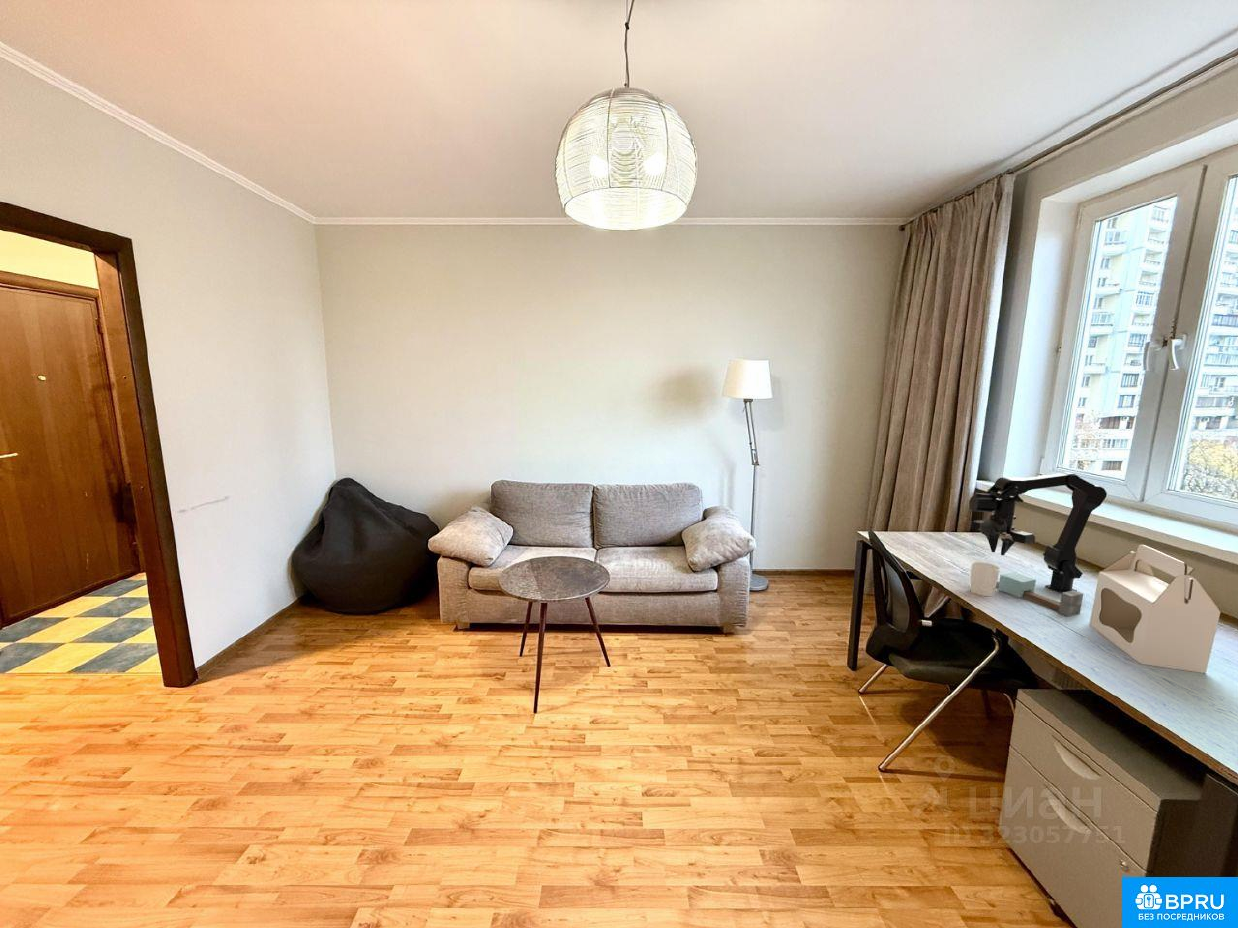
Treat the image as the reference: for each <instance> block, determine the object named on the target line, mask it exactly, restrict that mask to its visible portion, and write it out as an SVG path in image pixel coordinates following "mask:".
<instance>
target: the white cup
mask: <svg viewBox="0 0 1238 928" xmlns="http://www.w3.org/2000/svg"><path fill="white" fill-rule="evenodd" d="M1000 571H1001V569H1000V567H999V566H997V565H995V564H991V563H989V562H985V561H974V562H971V569H970V588H969V589H970V590H969V591H971V592H972V593H973V594H976V595H979V596H983V597H993V596H995V591H996V588H997V587H996V585H997V582H998V579H999V577H1000Z"/></svg>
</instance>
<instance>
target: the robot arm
mask: <svg viewBox="0 0 1238 928" xmlns="http://www.w3.org/2000/svg"><path fill="white" fill-rule="evenodd" d="M1063 486H1065V487H1066V488H1067V489H1069V490H1070V491H1072V492H1071V502H1072V508H1071V510H1070V512H1069V515H1068V517H1067V519H1066V521H1065V523H1064V526H1063V529H1062V531H1061V533H1060V535H1059V537H1058V540H1057V542H1056V543H1055V544H1054V545H1052V546H1051V545H1046V548H1045V551H1044V552H1043V554H1042V556H1043V561H1044V562H1045V564H1046V565H1047V568H1048V570H1051V571H1052V573H1051V578H1050V584H1045V585H1044V587H1045V588H1048V589H1050V590H1053V591H1055V592H1059V593H1061V594H1062V593H1063V592H1068V591H1073V590H1074V591H1077V592H1078V590H1077V589H1075V588H1073V584H1074V581H1075V580H1076V579H1081V577H1082V575H1083V571H1081V570H1080V569H1079V568H1078V567H1077V566H1076V564H1077V557H1078V556H1077V553H1076V548H1077V546H1078V543H1079V541H1080V539H1081V536H1082V535H1083V532H1084V529H1085V527H1086V525H1087V523H1088V521H1089V520H1090V519H1089V518H1090V516H1091V514H1092V513H1093V511H1095V510H1096V509H1097V508H1099V507H1101V505H1102V504H1103V502H1104V501H1105V499H1106V498H1107V494H1108V491H1106V489H1105V488H1104V487H1102V486H1099V485H1096V484H1095V485H1094V484H1093V483H1091V482H1090V481H1087V480H1086V479H1083V477H1080V476H1079V475H1077V474H1076V473H1072V472H1067V471H1063V472H1059V473H1051V474H1045V475H1038V476H1032V477H1031V476H1030V477H1013V476H1012V477H1011V476H1010V477H1009V476H1008V477H1007V476H1006V477H1002V476H1001V477H999V478H997V480H996V481H995V482H994V484H993V485H992V486H991V487H990V488H989V489H988V490H987V491H986V492H985V493H984V492H983V493H981V492H974V493H973V495H972V496H971V497H970V498H969V501H968V505H969V509H970V510H971V511H972V512H977V513H978V512H979V513H980V512H982V513H991V514H990V516H989V519H986V520H982V519H979V520H973V521H971V522H970V524H969V529H970V530H974V531H979V530H980V534H982V535H984V536H985V537H986V539H987V542H988V543H989V548H990V550H991V553H995V552H996V549H997V548H998V543H999V538H1000V534H1001V535H1003V536H1005V537H1001V538H1000V540H1001V542H1002V544H1001V550H1000V556H1005V555H1006V553H1007V552H1008V551H1009V550H1010V549H1011V547H1012V546H1013V545H1014V544H1015V543H1020V544H1031V543H1035V542H1036V536H1035V534H1034V533H1030V532H1026V531H1024V530H1021V531H1015V526H1013V525H1014V524H1013V523H1014V520H1016V519H1017V516H1016V515H1015V511H1016V505H1017V503H1024V499H1023V498H1021V497H1020V495H1022V494H1026V493H1027V492H1029V491H1033V490H1040V489H1046V488H1055V487H1063Z"/></svg>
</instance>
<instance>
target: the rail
mask: <svg viewBox="0 0 1238 928" xmlns="http://www.w3.org/2000/svg"><path fill="white" fill-rule="evenodd" d="M998 587H999V581H997V585H996V588H997V589H998ZM1022 599H1026V600H1029V601H1031V602H1034V603H1036V604H1039V605H1041V606H1044V607H1047V608H1049V609H1052V610H1053V611H1054V610H1055V611H1057V612H1058V614H1060V615H1064V616H1065V617H1067V618H1069V617H1072V616H1076V615H1080V614H1081V610H1082V604H1083V599H1084V593H1083V592H1080V591H1078V590H1077V591H1074V590H1073V591H1068V592H1063V593H1061V596H1060V601H1058V600H1055V599H1053V598H1049V597H1047V596H1044V595H1042V594H1038V593H1037V592H1035V591H1034V592H1031V591H1024V592H1023V597H1022Z"/></svg>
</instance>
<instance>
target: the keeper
mask: <svg viewBox="0 0 1238 928" xmlns="http://www.w3.org/2000/svg"><path fill="white" fill-rule="evenodd" d="M998 582H999V587H998V588H997V589H998V590H999V591H1001V592H1004V593H1007V594H1009V595H1011V596H1014V597H1016V598H1023V592H1024V591H1031V592H1034V593H1035V588H1036V582H1037V579H1034V578H1032V577H1029V576H1026V575H1024V574H1021V573H1017V572H1015V571H1012V572H1007V573H1001V574H1000V573H999V581H998Z"/></svg>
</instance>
